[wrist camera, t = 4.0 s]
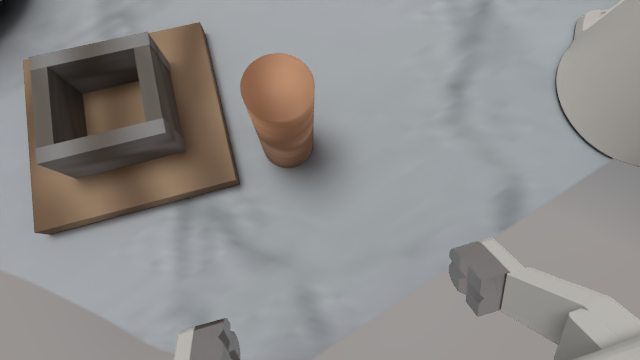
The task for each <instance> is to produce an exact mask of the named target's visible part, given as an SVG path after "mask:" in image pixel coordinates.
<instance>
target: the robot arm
mask: <svg viewBox="0 0 640 360" xmlns="http://www.w3.org/2000/svg"><path fill="white" fill-rule="evenodd" d="M556 84H557V92H558V97H559V100H560V103H561V106H562V108H563V110H564V112H565V114H566V116H567V118H568V119H569V121H570V122H571V124H572V125H573V127H574V128H575V129H576V130H577V131H578V133H579V134H580V135H581V136H582V137H583V138H584V139H585V140H586V141H588V142H589V143H590V144H591V145H593V146H594V147H595V148H597V149H598V150H600V151H601V152H603V153H605V154H606V155H608V156H610V157H612V158H614V159H617V160H619V161H622V162H625V163H628V164H632V165H635V166H638V167H640V0H621V1H620V2H619V3H617V4H616V5H615V6H614V7H612V8H611V9H606V10H592V11H589V12H587V13H586V14H584V15H583V16H582V17H580V18H579V19H578V21H577V24H576V28H575V37H574V41H573V43H572V44H571V46H570V47H569V48H568V50H567V51H566V52H565V54H564V55H563V57H562V59H561V61H560V64H559V67H558V71H557V78H556ZM449 257H450V259H451V260H452V262H451V264H450V265H449V274H450V277H451V280H452V282H453V284H454V286H455V287H456V289H457V290H458V291H459V292H461V293H463V294H465V295H466V302H467V303H468V305H469V306H470V307H471V309H472V310H473V311H474V313H475V314H476V315H477V316H481V315H485V314H488V313H492V312H495V311H498V310H501V312H503V313H505V314H506V315H508V316H510V317H512V318H513V319H515V320H516V321H518V322H520V323H522V324H523V325H525V326H527V327H528V328H530V329H532V330H534V331H535V332H537V333H539V334H540V335H542V336H544V337H545V338H547V339H549V340H551V341H552V342H554V343H556V344H558V347H557V350H556V353H555V356H554V360H640V320H639V319H637V318H636V317H635V316H634V315H632V314H631V313H630V312H629V311H627V310H626V309H625V308H624V307H622V306H621V305H620V304H619V303H618V302H616V301H615V300H614V299H613V298H611V297H609V296H606V295H604V294H601V293H598V292H595V291H593V290H590V289H587V288H585V287H582V286H579V285H576V284H574V283H571V282H568V281H566V280H563V279H560V278H558V277H555V276H552V275H550V274H547V273H544V272H541V271H539V270H536V269H533V268H531V267H527V268H524V267H523V266H522V265H521V264H520V263H519V262H518V261H517V260H516V259H515V258H514V257H513V256H511V254H510V253H508V252H507V251H506V250H505V249H504V248H503V247H502V246H501V245H500V244H499V243H498V242H497V241H496V240H494V239H493V238H491V237H489V238H486V239H483V240H479V241H477V242H472V243H469V244H466V245H463V246H459V247H456V248H453V249H451V250H450V253H449ZM174 360H240V348H239V342H238V339H237V336H236V334H235V332H233V331H231V330H230V323H229V321H228V319H227V318H224V319H221V320H217V321H213V322H210V323H206V324H203V325H199V326H196V327H192V328H189V329H185V330H182V331H180V333H179V335H178V339H177V344H176V350H175V355H174Z"/></svg>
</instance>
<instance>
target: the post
mask: <svg viewBox="0 0 640 360" xmlns="http://www.w3.org/2000/svg"><path fill="white" fill-rule="evenodd" d="M240 87H241V95H242V98H243V100H244V103H245V105H246V108H247V110H248V113H249V115H250V118H251V120H252V123H253V125H254V128H255V130H256V132H257V135H258V137H259V140H260V142H261V145H262V147H263V150H264V152H265V154H266V156H267V158H268V159H269V160H270V161H271V162H272V163H274V164H275V165H277V166H280V167H284V168H291V167H296V166H298V165H300V164H302V163H303V162H305V161H306V160H307V159H308V157H309V156H310V154H311V152H312V148H313V122H314V87H315V85H314V78H313V75H312V73H311V71H310V69H309V68H308V67H307V66H306V65H305V64H304V63H303V62H302V61H301V60H299V59H298V58H296V57H294V56H291V55H288V54H281V53H275V54H268V55H265V56H262V57H260V58H258V59H256V60H255V61H254V62H252V63H251V64H250V65H249V66H248V67H247V69H246V70H245V72H244V74H243V76H242V79H241V85H240Z"/></svg>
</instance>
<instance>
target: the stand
mask: <svg viewBox="0 0 640 360" xmlns="http://www.w3.org/2000/svg"><path fill="white" fill-rule="evenodd" d="M23 69H24V83H25V98H26V113H27V128H28V142H29V157H30V172H31V187H32V202H33V216H34V231H35V233H42V234H53V233H57V232H61V231H64V230H68V229H72V228H76V227H80V226H83V225H87V224H91V223H95V222H98V221H102V220H106V219H110V218H114V217H117V216H121V215H125V214H129V213H132V212H136V211H140V210H144V209H147V208H151V207H155V206H159V205H163V204H166V203H170V202H174V201H178V200H181V199H185V198H189V197H193V196H197V195H200V194H204V193H208V192H212V191H215V190H219V189H223V188H227V187H231V186H234V185H238V184H240V183H239V179H238V174H237V170H236V166H235V161H234V157H233V153H232V148H231V144H230V140H229V135H228V131H227V127H226V122H225V118H224V114H223V109H222V105H221V101H220V96H219V92H218V88H217V83H216V79H215V75H214V71H213V66H212V62H211V58H210V53H209V49H208V45H207V40H206V36H205V32H204V30H203V28H202V26H201V24H200V22H199V23H194V24H190V25H185V26H180V27H176V28H171V29H166V30H162V31H157V32H152V33H148V32H144V33H140V34H135V35H130V36H126V37H121V38H116V39H112V40H107V41H102V42H98V43H93V44H88V45H84V46H79V47H74V48H70V49H65V50H60V51H56V52H51V53H46V54H42V55H37V56H32V57H29V59H27V60H23Z"/></svg>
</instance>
